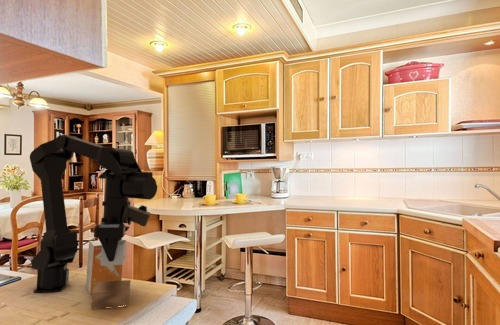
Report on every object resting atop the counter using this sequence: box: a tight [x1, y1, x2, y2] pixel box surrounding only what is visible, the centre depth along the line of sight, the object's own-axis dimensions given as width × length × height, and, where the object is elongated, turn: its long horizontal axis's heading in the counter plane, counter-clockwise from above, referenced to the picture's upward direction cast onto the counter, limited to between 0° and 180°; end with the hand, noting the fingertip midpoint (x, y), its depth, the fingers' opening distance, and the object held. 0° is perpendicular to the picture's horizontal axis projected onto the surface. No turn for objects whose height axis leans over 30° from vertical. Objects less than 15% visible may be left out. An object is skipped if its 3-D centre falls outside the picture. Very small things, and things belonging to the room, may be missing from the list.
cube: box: [100, 239, 127, 266], centre depth 75 cm, size 5×5×5 cm
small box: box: [85, 239, 124, 295], centre depth 84 cm, size 8×6×13 cm
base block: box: [90, 279, 131, 310], centre depth 75 cm, size 8×7×4 cm
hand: (113, 258), depth 75 cm, fingers closed on cube, 5 cm apart
